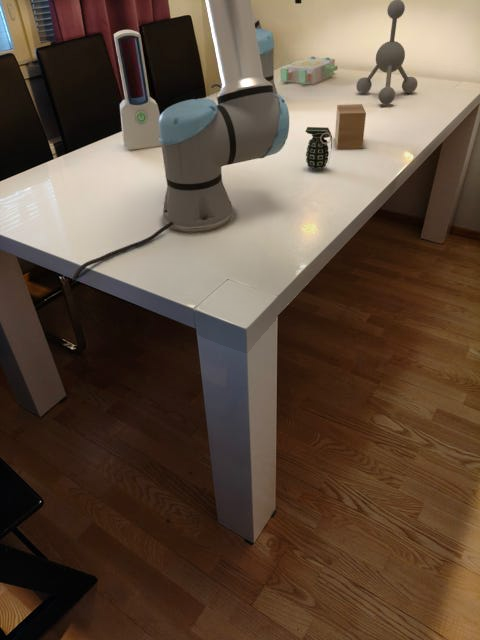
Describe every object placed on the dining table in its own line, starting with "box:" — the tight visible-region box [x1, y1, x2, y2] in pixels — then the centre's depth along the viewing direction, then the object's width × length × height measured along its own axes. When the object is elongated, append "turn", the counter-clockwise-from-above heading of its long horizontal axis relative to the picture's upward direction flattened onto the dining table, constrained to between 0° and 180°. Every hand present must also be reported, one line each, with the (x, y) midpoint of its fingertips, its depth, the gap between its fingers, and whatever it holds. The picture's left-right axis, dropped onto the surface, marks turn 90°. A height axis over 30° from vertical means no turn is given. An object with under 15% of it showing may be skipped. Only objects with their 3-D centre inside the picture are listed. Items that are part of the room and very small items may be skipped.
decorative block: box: [280, 56, 338, 85], centre depth 206 cm, size 26×6×20 cm
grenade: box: [305, 126, 333, 171], centre depth 123 cm, size 7×6×10 cm
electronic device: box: [113, 29, 161, 151], centre depth 140 cm, size 12×8×30 cm, turn 105°
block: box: [334, 103, 367, 150], centre depth 138 cm, size 9×7×10 cm
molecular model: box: [356, 0, 418, 105], centre depth 169 cm, size 24×22×30 cm
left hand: (349, 0), depth 64 cm, fingers open, 13 cm apart
